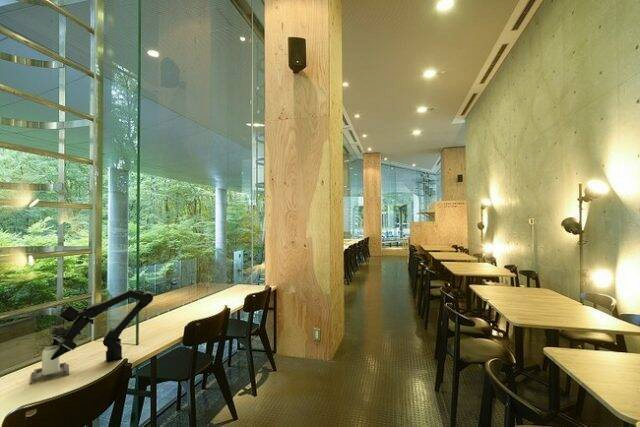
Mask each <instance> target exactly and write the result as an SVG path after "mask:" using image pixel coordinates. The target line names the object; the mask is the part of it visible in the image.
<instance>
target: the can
mask: <svg viewBox="0 0 640 427" xmlns="http://www.w3.org/2000/svg"><path fill="white" fill-rule="evenodd" d="M58 348H59V347H58V346H57V345H55V346H51V345H50V346H46V347H45V348H43V350H42V353H41V368H42V375H47V374H52V373H56V372H59V370H60V364H61V363H60V360H61V359H60V357H61V356H59V357H57V358H56V359H54V360H51V357H52V356H53V354H54V353H55V352H56V351H57V349H58Z"/></svg>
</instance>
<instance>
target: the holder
mask: <svg viewBox="0 0 640 427" xmlns="http://www.w3.org/2000/svg"><path fill="white" fill-rule="evenodd" d="M67 376H70V365H69V363H67V362H61V363H60V370H59V372H56V373H52V374H47V375H42V367H39V368H35V369H34V370H33V371H32V372H31V375H30V380H29V386H31V385H34V384H39V383H43V382H47V381H51V380H55V379H60V378H62V377H67Z"/></svg>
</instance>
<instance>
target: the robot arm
mask: <svg viewBox="0 0 640 427" xmlns="http://www.w3.org/2000/svg"><path fill="white" fill-rule="evenodd" d="M128 299H133V300H134V299H135V300H137V303H136V304H135V305H134V306H133V307H132V308H131V309H130V311H129V312H128V313H127V314H126V315H125V316H124V317H123V318H122V319H121V321H120V322H118V324H117V325H116V326H115V327H110V328H109V329H108V331H107V332H105V333H104V336H103V340H102V345H103V346H104V347H105V348H106V350H105V360H106V361H107V362H108V363H110V362H115V361H119V360H122V359H123V356H122V355H123V350H122V349H123V348H122V339H121V338H120V336H121V334H122V332H123V331H124V330H125V329H126V328H127V327H128V326H129V324H130V323H131V322H132V321H133V320H134V319H135V318H136V316H137V315H138V314H139V313H140V312H141V311H142V310H143V309H145V308H146V307H147V306H148V305H149V304H151V303H152V302H153V300H154V294H153V292H152V291H148V290H146V291H142V290H137V289H136V290H135V289H133V288H130V289H128V290H126V291H124V292H122V293H119V294H118V295H115V296H113V297H111V298H108V299H107V300H105V301H100V302H96V303H93V304H91V305H89V306H87V307H85V308H81V309H77V308H76V307H75V306H74V305H73V304H68V306H67V307H66V308H64V310H63V311H61V313H60V314H58V317H59V318H61V319H62V320H64V321H66V322H67V323H71V322H72V323H71V325H67V326H61V325H59V326H56V325H53V326H51V329H50V331H49V333H50V334H51V344H50V346H55V345H57V346H58V347H59V348H58V349H57V351H56V352H55V353H54V354H53V356H52V357H51V360H54V359H56V358H57V357H59V356H60V357H61V356H63V355H64V354H67V353H69V352H71V351H74V350H75V349H76V348H77V343H76V342H75V339H76V338H77V336H81V334H82V331H83V330H84V329H85V328H86V327H87V326H88V325H89V324H91V325H94V324H95V323H94V321H95V319H94V318H96V317H98V316H99V315H101V314H102V313H104V312H105V311H106V310H108V309H109V308H110V309H111V307H114V306H116V305H118V304H120V303H122V302H124V301H126V300H128Z"/></svg>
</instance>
